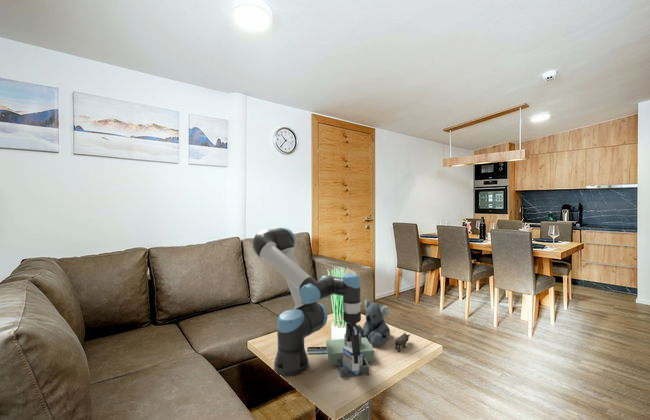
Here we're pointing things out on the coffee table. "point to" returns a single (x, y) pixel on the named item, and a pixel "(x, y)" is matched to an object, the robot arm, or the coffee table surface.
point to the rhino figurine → (401, 341)
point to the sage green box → (337, 346)
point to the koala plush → (375, 324)
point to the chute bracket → (346, 373)
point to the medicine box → (348, 359)
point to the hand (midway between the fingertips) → (352, 363)
